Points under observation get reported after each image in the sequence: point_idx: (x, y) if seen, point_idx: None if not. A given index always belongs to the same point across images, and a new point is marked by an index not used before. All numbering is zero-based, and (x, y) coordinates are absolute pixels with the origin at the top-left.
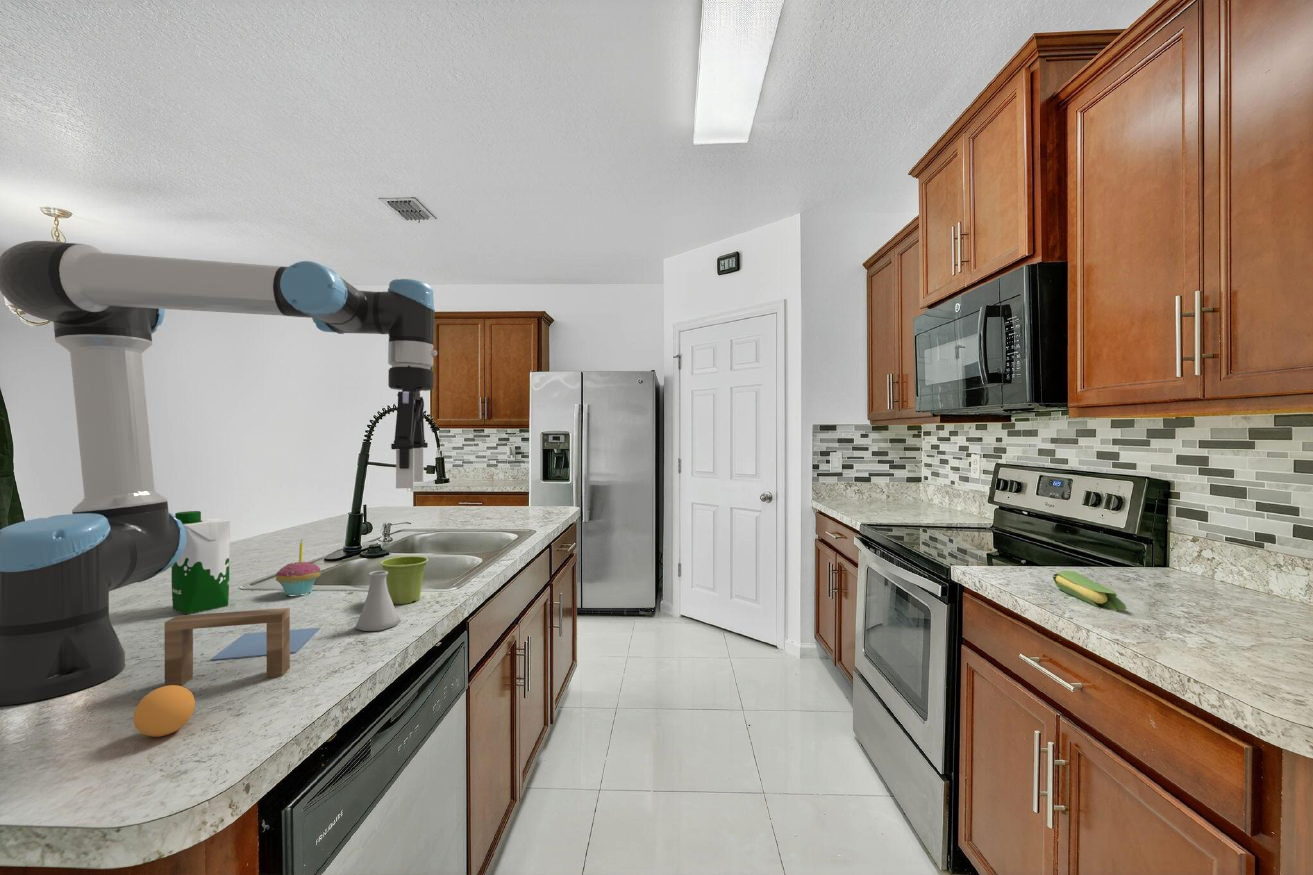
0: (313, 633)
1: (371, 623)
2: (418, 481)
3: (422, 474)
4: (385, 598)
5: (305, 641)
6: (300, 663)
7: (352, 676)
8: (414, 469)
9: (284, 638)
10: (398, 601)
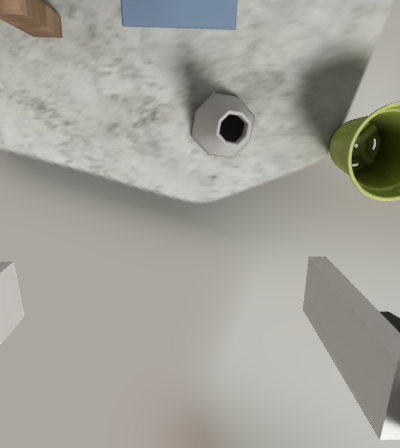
0: (206, 27)
1: (197, 121)
2: (305, 295)
3: (314, 326)
4: (216, 142)
5: (168, 25)
6: (78, 47)
7: (21, 134)
8: (328, 310)
9: (18, 23)
10: (332, 139)
